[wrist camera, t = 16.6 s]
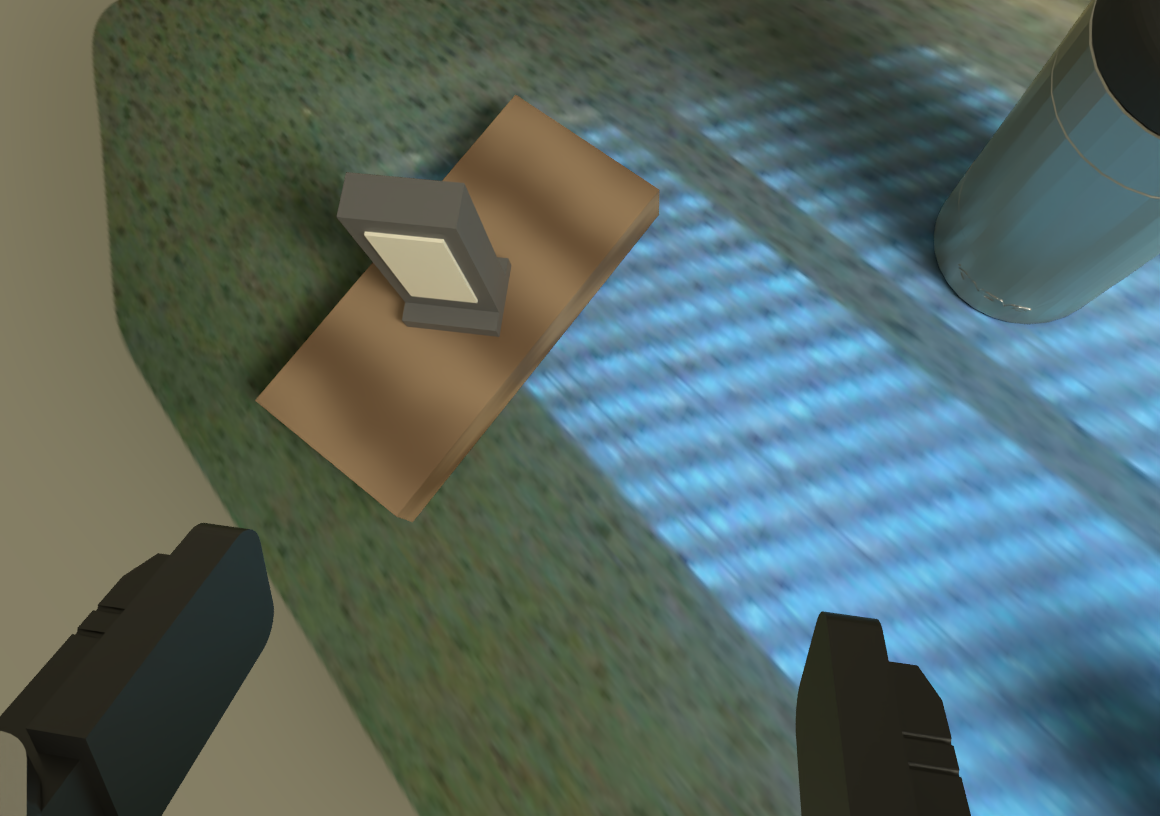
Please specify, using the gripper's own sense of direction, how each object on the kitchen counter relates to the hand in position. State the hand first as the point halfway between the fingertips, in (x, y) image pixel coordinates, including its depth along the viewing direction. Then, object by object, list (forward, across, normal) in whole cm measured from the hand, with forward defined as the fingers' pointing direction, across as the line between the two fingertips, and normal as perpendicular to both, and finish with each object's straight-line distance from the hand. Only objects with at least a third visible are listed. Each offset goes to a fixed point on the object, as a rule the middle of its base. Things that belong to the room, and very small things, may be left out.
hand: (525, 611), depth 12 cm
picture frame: (+32, +10, +10) cm, 35 cm away
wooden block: (+34, +10, +12) cm, 37 cm away
